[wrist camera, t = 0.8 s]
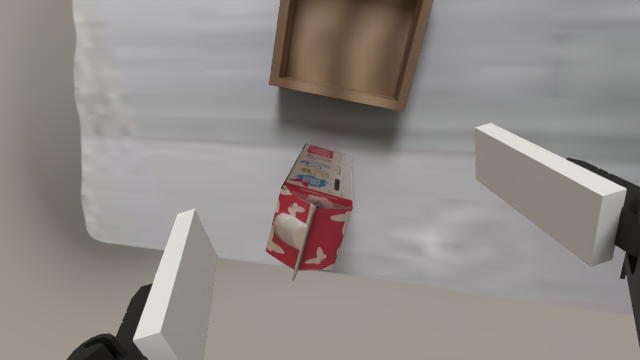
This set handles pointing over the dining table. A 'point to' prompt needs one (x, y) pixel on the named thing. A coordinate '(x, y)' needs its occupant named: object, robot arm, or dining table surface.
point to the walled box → (350, 48)
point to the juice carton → (312, 210)
